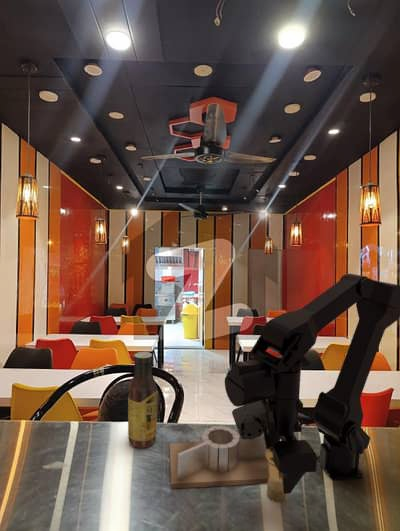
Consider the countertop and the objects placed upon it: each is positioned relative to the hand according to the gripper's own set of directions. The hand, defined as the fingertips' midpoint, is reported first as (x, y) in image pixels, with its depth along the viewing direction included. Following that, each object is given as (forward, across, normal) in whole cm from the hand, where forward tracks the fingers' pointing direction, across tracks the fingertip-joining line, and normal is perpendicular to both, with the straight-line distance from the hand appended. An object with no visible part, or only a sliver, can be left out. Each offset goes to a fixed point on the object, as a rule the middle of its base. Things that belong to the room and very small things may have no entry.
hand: (278, 473), depth 65 cm
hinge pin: (+4, 0, 0) cm, 4 cm away
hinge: (+3, -8, -9) cm, 12 cm away
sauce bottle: (+4, -18, -25) cm, 31 cm away
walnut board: (+4, -9, -9) cm, 13 cm away
